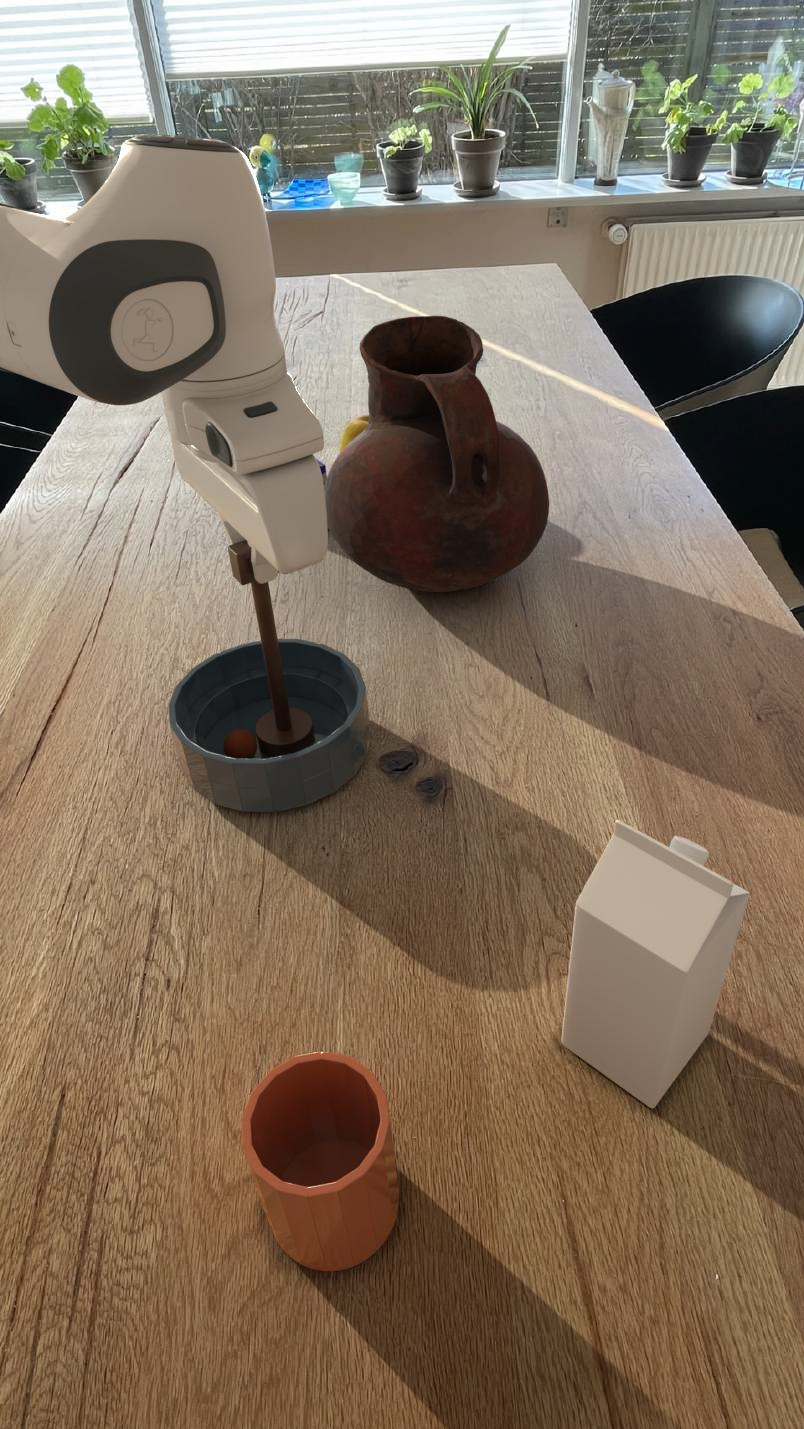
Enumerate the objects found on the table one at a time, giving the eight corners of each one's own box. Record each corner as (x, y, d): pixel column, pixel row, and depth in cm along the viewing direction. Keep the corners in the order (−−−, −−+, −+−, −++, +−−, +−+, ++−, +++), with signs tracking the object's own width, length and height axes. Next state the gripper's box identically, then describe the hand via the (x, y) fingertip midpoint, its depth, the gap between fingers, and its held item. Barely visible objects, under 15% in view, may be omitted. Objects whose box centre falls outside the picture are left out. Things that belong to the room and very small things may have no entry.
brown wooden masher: (273, 765, 84) (236, 568, 71) (248, 733, 88) (208, 540, 75) (324, 743, 86) (297, 546, 73) (298, 713, 90) (268, 520, 77)
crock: (306, 1301, 53) (282, 1227, 46) (247, 1181, 58) (218, 1099, 51) (424, 1220, 56) (417, 1140, 49) (357, 1112, 61) (343, 1027, 54)
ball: (259, 767, 85) (228, 771, 84) (245, 749, 87) (215, 752, 86) (265, 739, 84) (234, 742, 82) (251, 721, 86) (220, 724, 84)
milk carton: (652, 1111, 60) (698, 926, 48) (559, 1044, 64) (579, 857, 51) (709, 1034, 64) (765, 844, 51) (618, 975, 67) (649, 785, 55)
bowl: (230, 848, 79) (216, 793, 74) (156, 735, 90) (140, 682, 86) (405, 765, 85) (401, 710, 81) (315, 670, 96) (308, 617, 92)
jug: (345, 640, 100) (319, 412, 84) (322, 525, 119) (298, 321, 103) (574, 609, 102) (592, 380, 86) (516, 501, 121) (522, 297, 105)
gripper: (133, 367, 72) (170, 529, 81) (246, 461, 59) (276, 643, 68) (210, 349, 75) (238, 507, 84) (335, 435, 61) (352, 614, 70)
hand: (256, 569), depth 75 cm, fingers closed on brown wooden masher
